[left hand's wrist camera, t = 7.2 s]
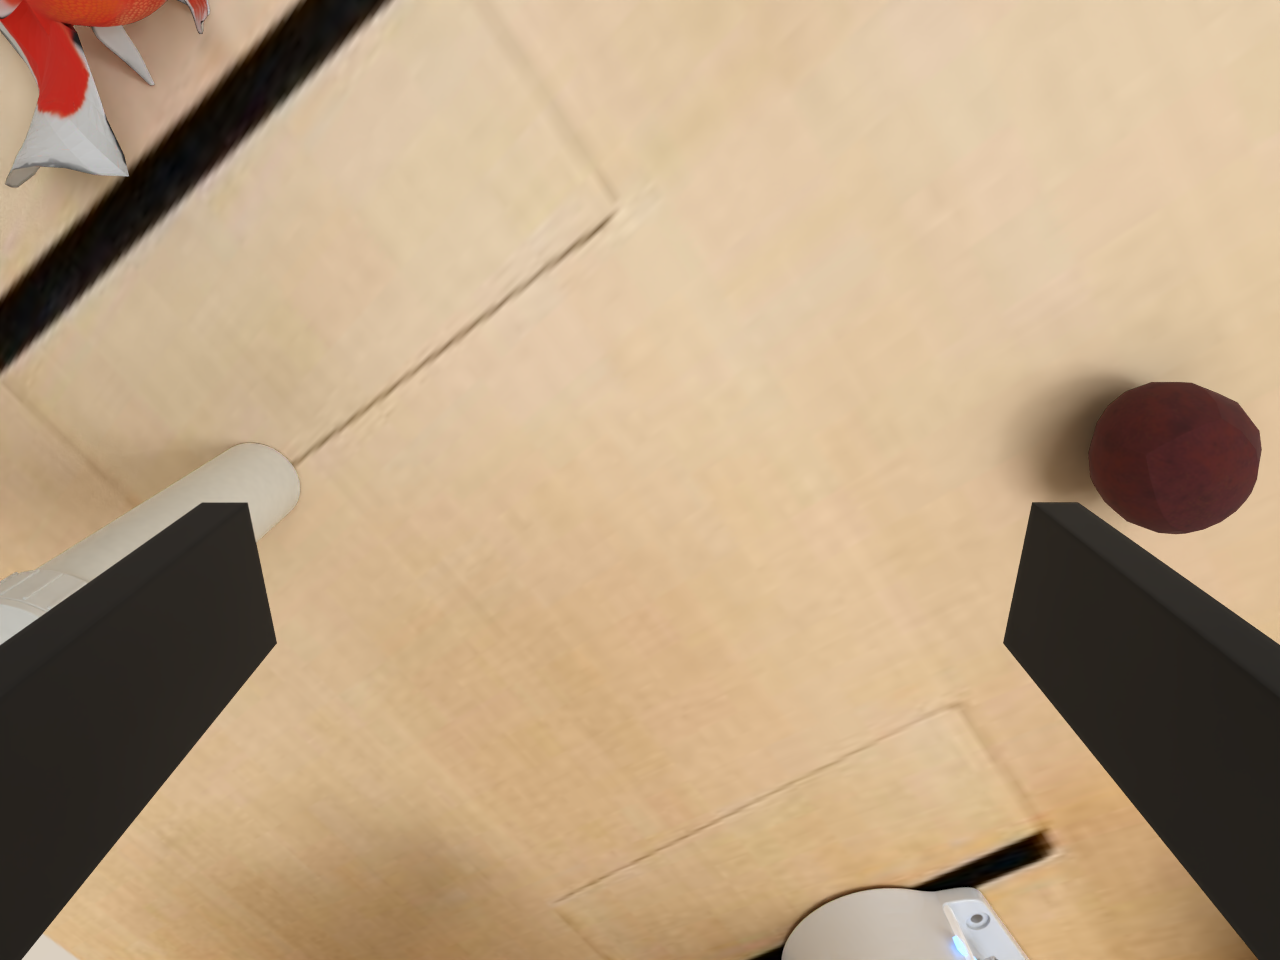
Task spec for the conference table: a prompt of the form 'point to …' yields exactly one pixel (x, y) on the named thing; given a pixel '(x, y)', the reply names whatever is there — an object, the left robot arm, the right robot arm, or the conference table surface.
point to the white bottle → (191, 506)
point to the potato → (1174, 457)
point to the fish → (74, 79)
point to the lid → (32, 597)
